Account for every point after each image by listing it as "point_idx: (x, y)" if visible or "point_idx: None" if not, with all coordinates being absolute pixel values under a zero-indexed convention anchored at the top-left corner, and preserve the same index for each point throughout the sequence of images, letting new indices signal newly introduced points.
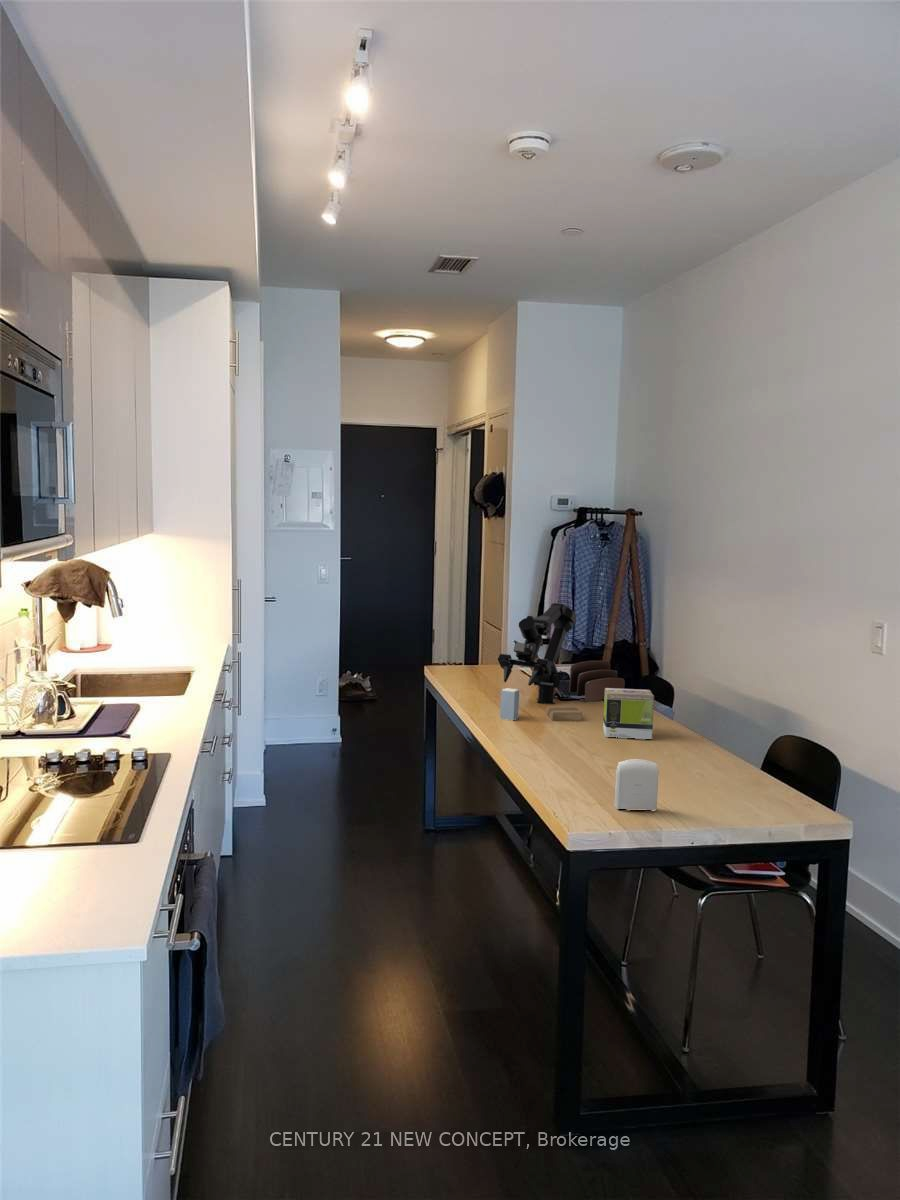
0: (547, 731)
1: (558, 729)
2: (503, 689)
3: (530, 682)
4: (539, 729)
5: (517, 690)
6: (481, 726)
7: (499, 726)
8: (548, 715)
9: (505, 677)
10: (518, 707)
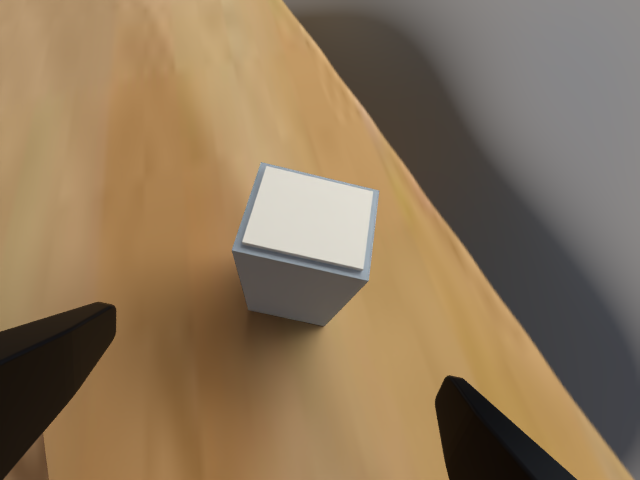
0: (89, 141)
1: (25, 186)
2: (366, 197)
3: (68, 316)
4: (126, 159)
5: (248, 228)
6: (363, 134)
7: (302, 152)
8: (42, 478)
9: (473, 403)
10: (244, 291)
